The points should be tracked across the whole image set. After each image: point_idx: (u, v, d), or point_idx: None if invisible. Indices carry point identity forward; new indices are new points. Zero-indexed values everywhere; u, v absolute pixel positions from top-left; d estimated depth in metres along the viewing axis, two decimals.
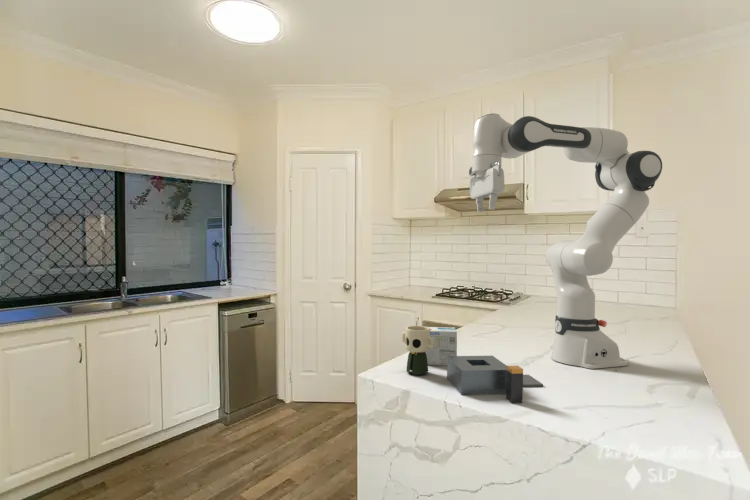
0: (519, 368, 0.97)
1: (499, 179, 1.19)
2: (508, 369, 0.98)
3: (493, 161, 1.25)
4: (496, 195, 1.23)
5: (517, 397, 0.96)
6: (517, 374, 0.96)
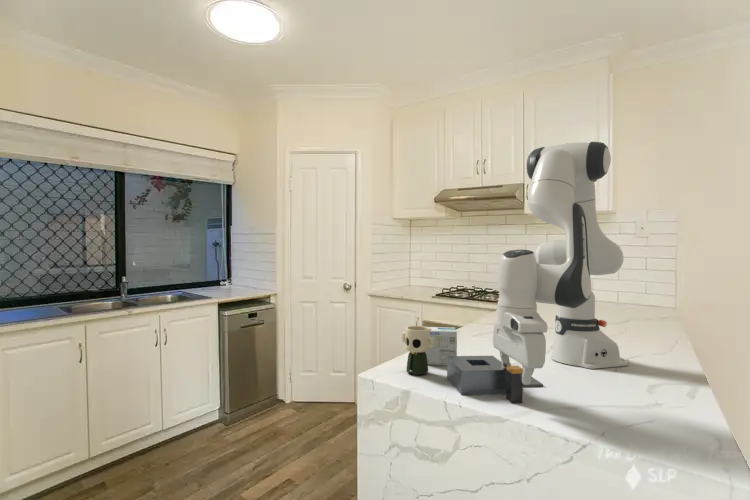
0: (519, 368, 0.97)
1: None
2: (508, 369, 0.98)
3: None
4: None
5: (517, 397, 0.96)
6: (517, 374, 0.96)
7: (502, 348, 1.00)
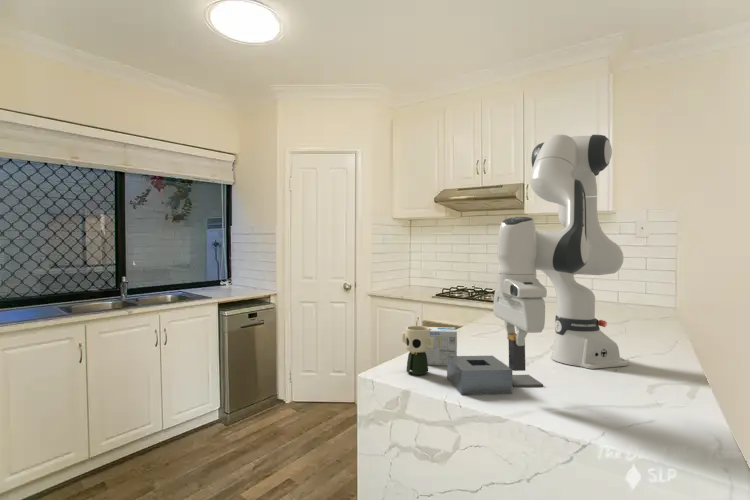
0: None
1: None
2: (510, 337, 0.98)
3: None
4: None
5: (520, 365, 0.96)
6: None
7: (502, 315, 1.01)
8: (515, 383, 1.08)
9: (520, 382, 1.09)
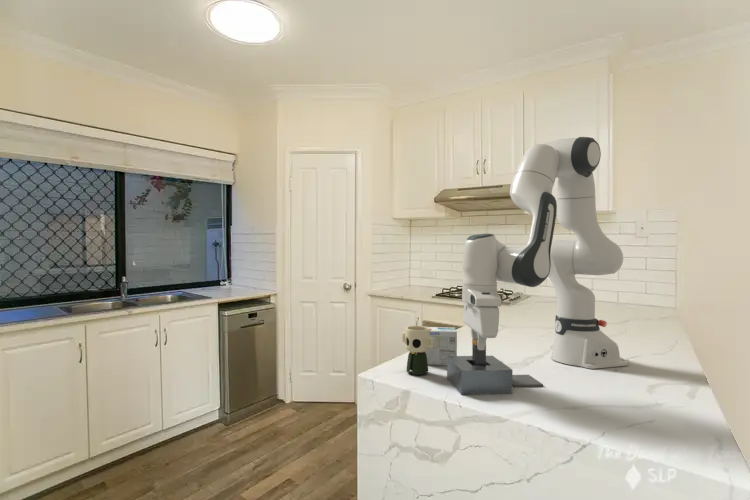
0: None
1: None
2: (473, 342, 1.09)
3: None
4: None
5: None
6: None
7: (468, 322, 1.11)
8: (515, 383, 1.08)
9: (520, 382, 1.09)
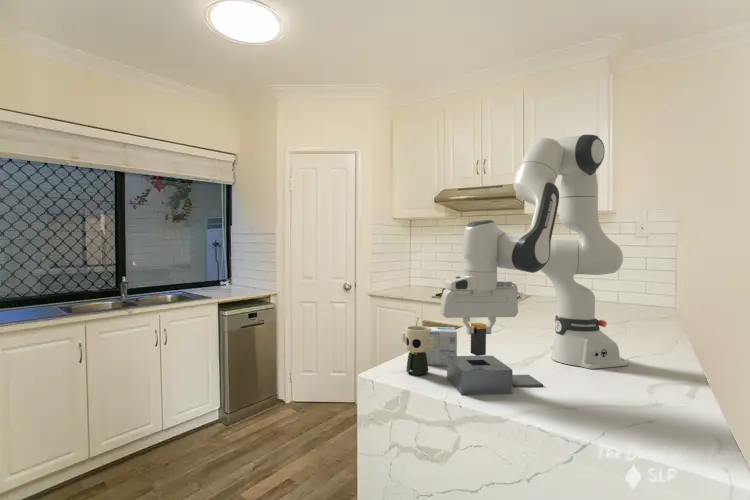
0: (477, 324, 1.08)
1: None
2: None
3: None
4: None
5: (473, 349, 1.08)
6: (474, 328, 1.08)
7: None
8: (515, 383, 1.08)
9: (520, 382, 1.09)
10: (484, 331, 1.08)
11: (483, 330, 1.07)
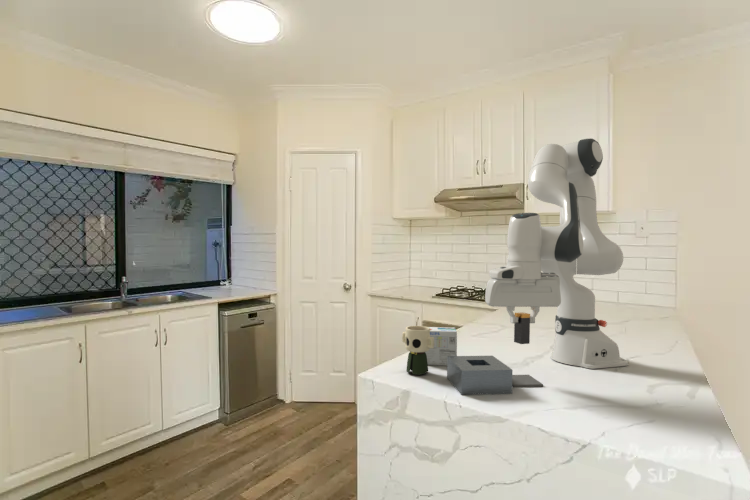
0: (521, 313, 1.10)
1: None
2: None
3: None
4: None
5: (518, 338, 1.11)
6: (518, 318, 1.11)
7: None
8: (515, 383, 1.08)
9: (520, 382, 1.09)
10: (528, 320, 1.10)
11: (527, 319, 1.10)
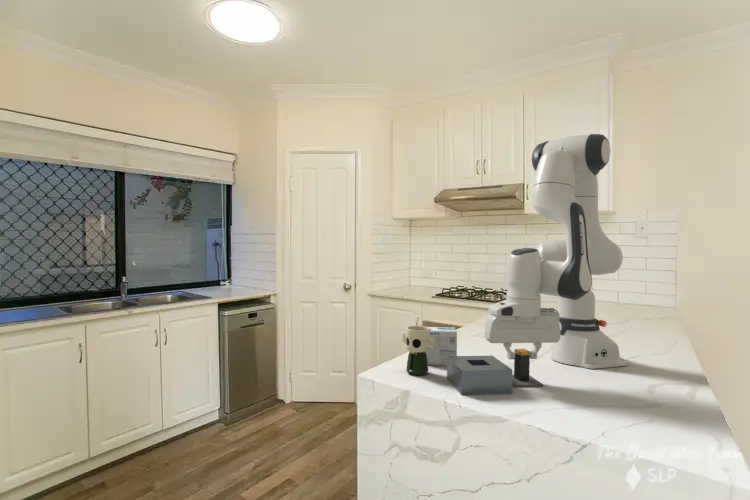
0: (521, 351, 1.11)
1: None
2: None
3: None
4: None
5: (517, 375, 1.11)
6: (517, 355, 1.11)
7: None
8: (515, 383, 1.08)
9: (520, 382, 1.09)
10: (528, 357, 1.10)
11: (527, 356, 1.10)
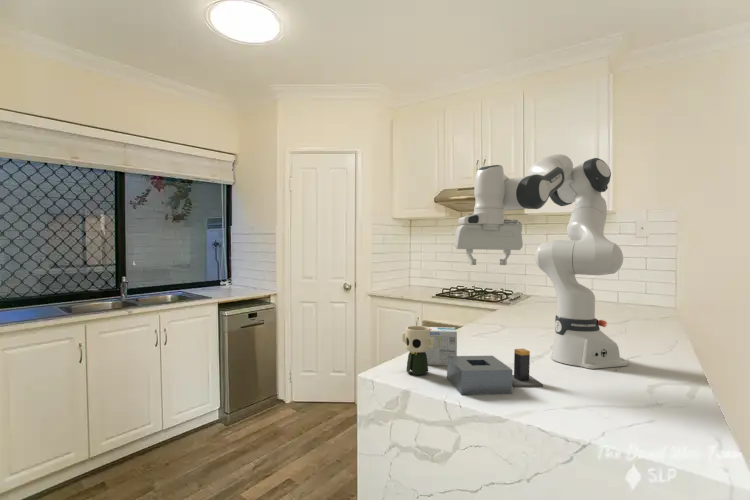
0: (521, 351, 1.11)
1: None
2: None
3: None
4: None
5: (517, 375, 1.11)
6: (517, 355, 1.11)
7: None
8: (515, 383, 1.08)
9: (520, 382, 1.09)
10: (528, 357, 1.10)
11: (527, 356, 1.10)
